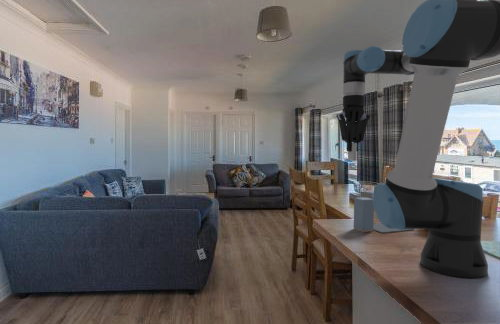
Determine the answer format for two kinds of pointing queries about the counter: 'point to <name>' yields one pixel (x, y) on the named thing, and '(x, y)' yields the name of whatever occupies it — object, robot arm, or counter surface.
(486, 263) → the robot arm
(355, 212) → the slate block
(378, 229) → the mat
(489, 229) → the counter surface
